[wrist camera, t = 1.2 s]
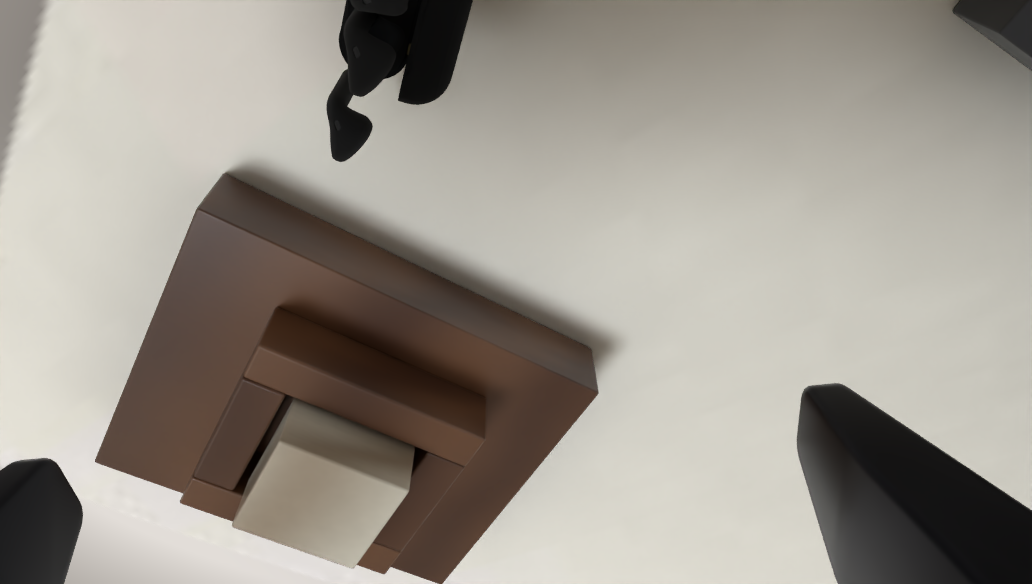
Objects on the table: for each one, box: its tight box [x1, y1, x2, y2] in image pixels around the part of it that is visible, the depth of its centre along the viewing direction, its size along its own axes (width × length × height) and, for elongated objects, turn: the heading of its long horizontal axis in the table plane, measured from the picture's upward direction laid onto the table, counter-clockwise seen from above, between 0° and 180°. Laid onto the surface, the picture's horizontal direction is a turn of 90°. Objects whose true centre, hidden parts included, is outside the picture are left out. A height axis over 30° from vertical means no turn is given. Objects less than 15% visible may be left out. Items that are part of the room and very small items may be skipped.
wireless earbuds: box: [327, 0, 473, 162], centre depth 16 cm, size 7×2×5 cm, turn 162°
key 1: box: [232, 398, 415, 568], centre depth 21 cm, size 4×4×2 cm
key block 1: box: [95, 174, 598, 584], centre depth 23 cm, size 12×10×4 cm
